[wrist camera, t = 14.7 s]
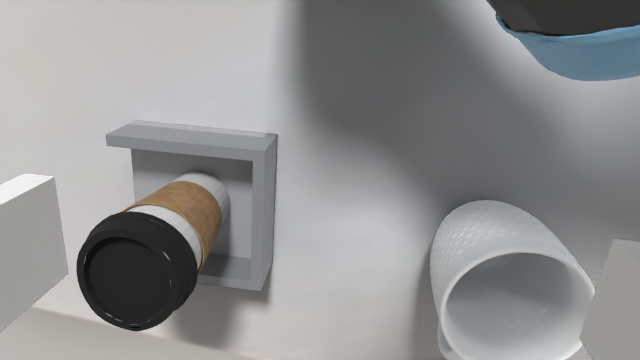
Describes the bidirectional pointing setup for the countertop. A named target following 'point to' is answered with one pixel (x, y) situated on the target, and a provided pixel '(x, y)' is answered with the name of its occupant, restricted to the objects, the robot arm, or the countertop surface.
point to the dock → (233, 171)
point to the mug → (505, 286)
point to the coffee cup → (152, 252)
